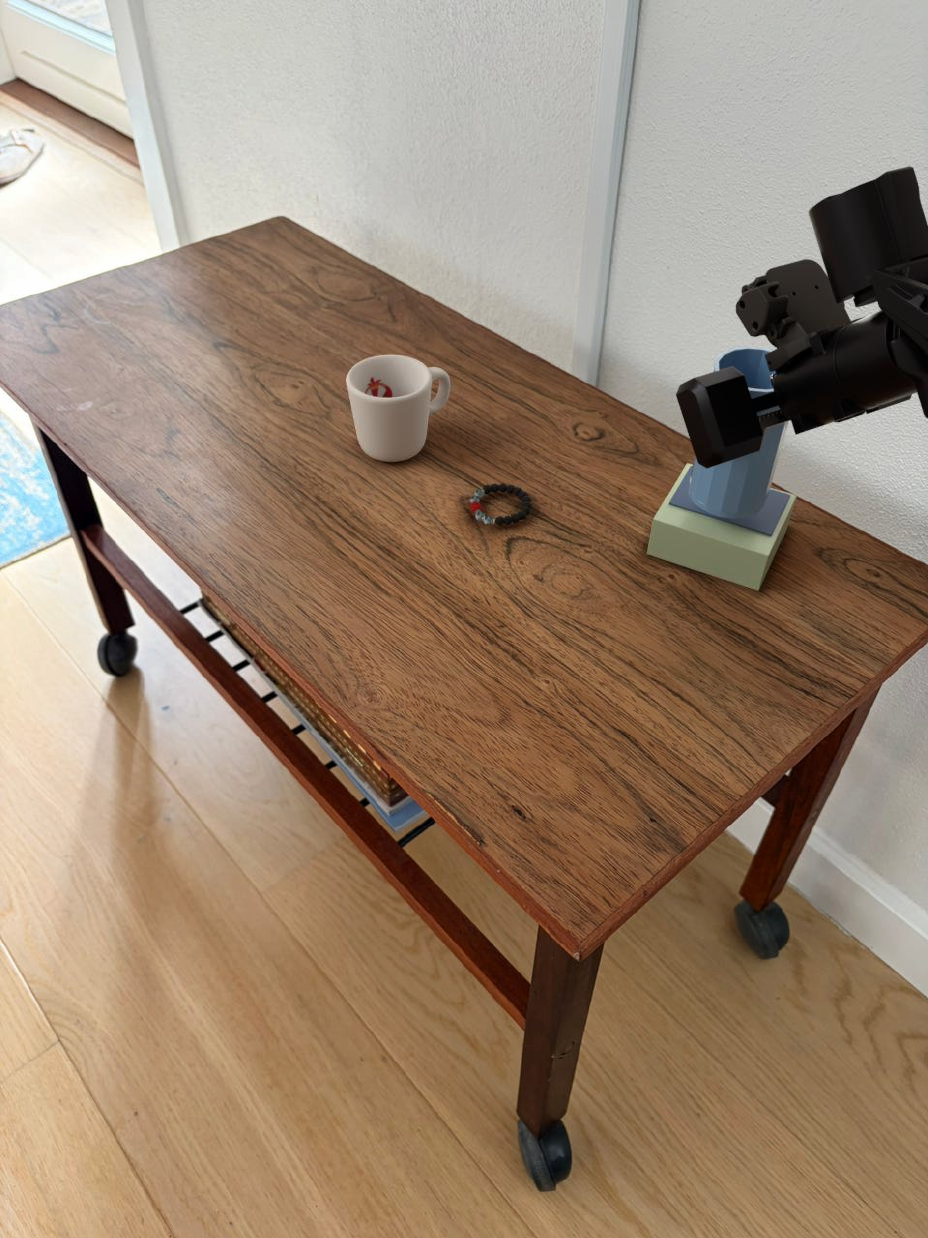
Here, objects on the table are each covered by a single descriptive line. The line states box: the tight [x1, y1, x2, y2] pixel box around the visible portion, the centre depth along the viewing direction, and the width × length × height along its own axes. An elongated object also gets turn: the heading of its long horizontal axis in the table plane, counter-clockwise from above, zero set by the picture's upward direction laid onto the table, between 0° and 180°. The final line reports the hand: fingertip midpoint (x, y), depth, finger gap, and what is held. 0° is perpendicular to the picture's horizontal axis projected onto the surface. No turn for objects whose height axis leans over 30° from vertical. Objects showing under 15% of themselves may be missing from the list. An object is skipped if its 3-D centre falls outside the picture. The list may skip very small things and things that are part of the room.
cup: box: [345, 354, 451, 463], centre depth 98 cm, size 11×8×8 cm
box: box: [646, 462, 798, 592], centre depth 89 cm, size 10×9×4 cm
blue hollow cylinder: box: [689, 345, 790, 518], centre depth 81 cm, size 6×6×12 cm
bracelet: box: [469, 482, 533, 527], centre depth 93 cm, size 6×6×1 cm
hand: (732, 419), depth 82 cm, fingers closed on blue hollow cylinder, 6 cm apart
